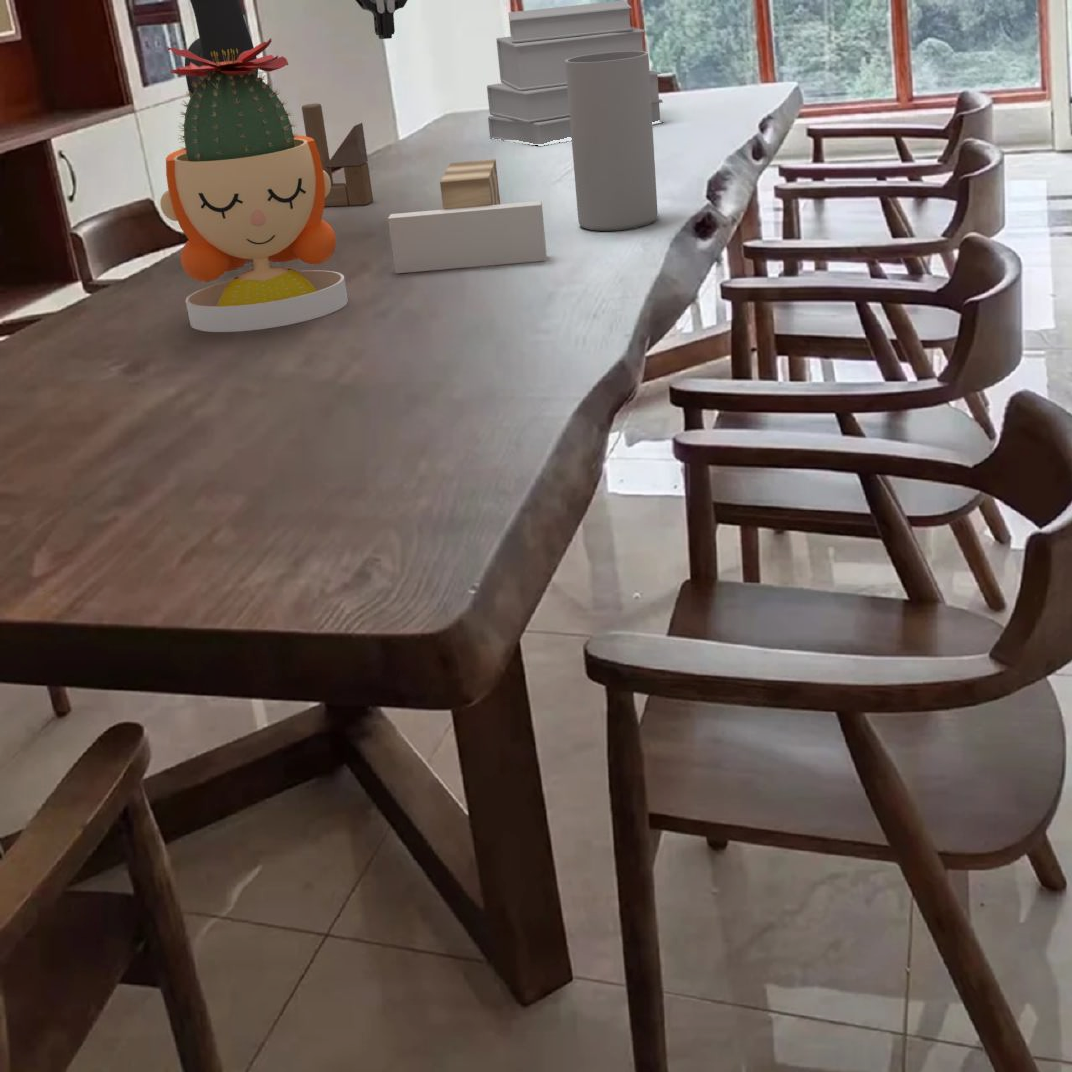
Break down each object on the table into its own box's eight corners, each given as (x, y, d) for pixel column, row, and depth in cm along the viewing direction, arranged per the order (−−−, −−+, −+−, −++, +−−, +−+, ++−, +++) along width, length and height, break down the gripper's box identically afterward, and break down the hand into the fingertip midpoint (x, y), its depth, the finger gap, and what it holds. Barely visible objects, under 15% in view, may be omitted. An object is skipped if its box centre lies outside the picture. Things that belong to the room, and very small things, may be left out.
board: (398, 268, 205) (390, 214, 202) (546, 255, 204) (541, 200, 200) (395, 273, 203) (387, 218, 199) (546, 260, 201) (540, 204, 198)
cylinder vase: (615, 211, 228) (604, 51, 217) (674, 217, 219) (665, 50, 209) (562, 228, 220) (548, 62, 210) (621, 235, 211) (609, 62, 201)
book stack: (476, 138, 316) (462, 18, 306) (604, 114, 331) (596, -1, 321) (544, 150, 292) (532, 20, 281) (679, 123, 307) (673, -1, 297)
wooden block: (366, 205, 254) (351, 103, 246) (312, 207, 257) (296, 107, 249) (374, 201, 257) (359, 100, 249) (321, 203, 260) (305, 103, 253)
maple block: (459, 240, 219) (450, 163, 214) (503, 236, 219) (495, 159, 214) (450, 264, 205) (439, 182, 200) (497, 260, 204) (488, 177, 199)
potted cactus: (359, 312, 184) (317, 33, 170) (189, 341, 179) (131, 56, 165) (333, 279, 203) (293, 25, 189) (179, 304, 198) (126, 45, 184)
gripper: (343, -82, 209) (354, 41, 215) (424, -84, 214) (433, 36, 220) (327, -78, 215) (338, 41, 221) (406, -80, 220) (414, 36, 227)
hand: (385, 38), depth 221 cm, fingers closed
